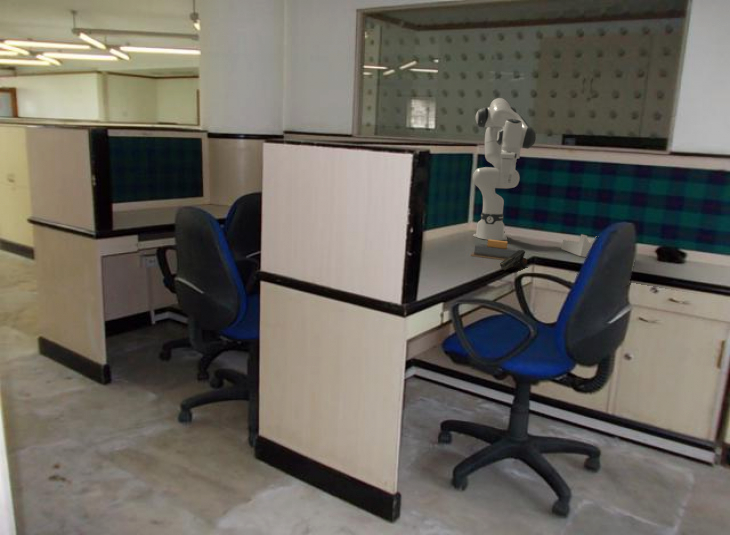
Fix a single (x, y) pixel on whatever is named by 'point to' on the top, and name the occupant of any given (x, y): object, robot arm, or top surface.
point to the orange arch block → (497, 244)
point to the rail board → (493, 252)
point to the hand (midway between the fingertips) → (507, 183)
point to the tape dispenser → (577, 246)
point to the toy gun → (514, 260)
